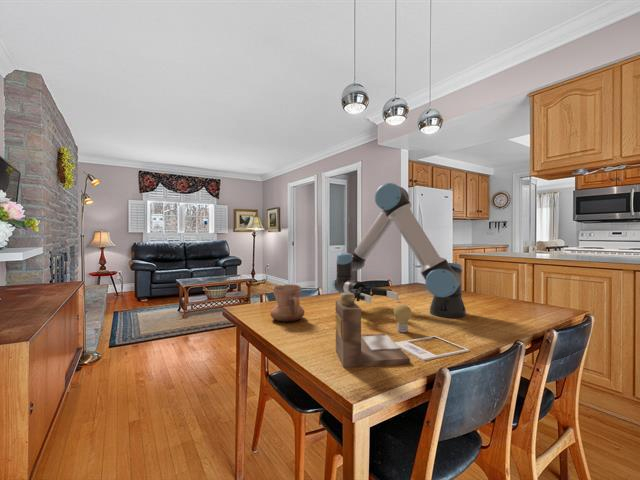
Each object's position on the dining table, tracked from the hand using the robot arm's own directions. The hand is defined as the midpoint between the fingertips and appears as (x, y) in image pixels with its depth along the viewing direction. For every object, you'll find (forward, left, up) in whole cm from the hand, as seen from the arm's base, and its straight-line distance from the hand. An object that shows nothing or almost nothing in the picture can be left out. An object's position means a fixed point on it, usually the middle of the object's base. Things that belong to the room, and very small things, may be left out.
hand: (384, 298), depth 126 cm
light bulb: (-4, +9, -11) cm, 15 cm away
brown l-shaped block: (+15, +26, -11) cm, 32 cm away
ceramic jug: (+38, -13, -11) cm, 42 cm away
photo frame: (-6, +26, -11) cm, 29 cm away
